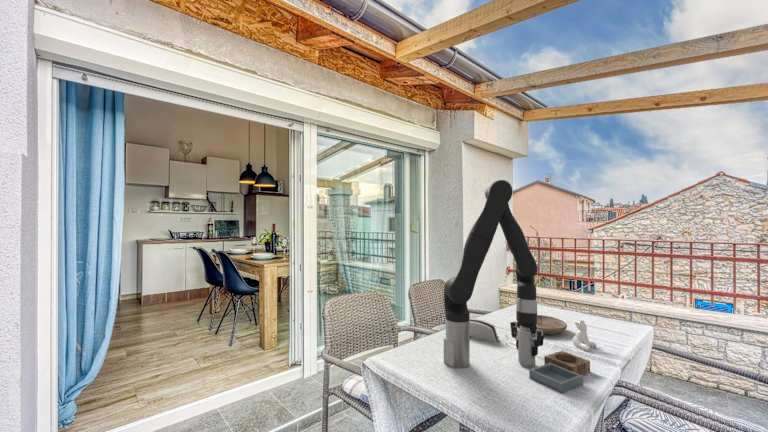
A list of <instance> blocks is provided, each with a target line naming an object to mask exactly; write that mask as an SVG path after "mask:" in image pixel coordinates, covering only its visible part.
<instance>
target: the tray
mask: <svg viewBox="0 0 768 432" xmlns="http://www.w3.org/2000/svg"><path fill="white" fill-rule="evenodd" d="M528 371H529V378H528V379H529V380H533V381H534V382H537V383H539V384H541V385H542V386H545V387H548V388H549V389H552V390H553V391H556V392H558V393H560V394H564V393H566V392H568V391H571V390H573V389H574V390H575V389H577V388H578V387H581V386H583V385H584V375H579V374H577V373H574V372H572V371H569V370H567V369H564V368H562V367H559V366H557V365H554V364H552V363H549V364H546V365H545V364H543V365H540V366H536V367H532V368H531V369H529V370H528Z"/></svg>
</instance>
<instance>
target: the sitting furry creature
mask: <svg viewBox="0 0 768 432" xmlns="http://www.w3.org/2000/svg"><path fill="white" fill-rule="evenodd" d="M574 325H575V327H576V328H577V330H576V331H575V335H574V336H573V337H572V340H571V341H572V343H573V345H574V346H575V347H576V348H578V349H580V350H583V351H584V352H588V353H591V351H592V349H597V343H596V342H595V341H593V340H589V337H588V336H589V335H588V333H587V330H588V327H587V324H586V322H585V320H583V319H580V320H577V321H575V322H574ZM592 347H593V348H592Z"/></svg>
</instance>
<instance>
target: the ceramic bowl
mask: <svg viewBox="0 0 768 432" xmlns="http://www.w3.org/2000/svg"><path fill="white" fill-rule="evenodd" d="M536 326H537V329H539V330H543V331H544V335H555V334H561V333H563V332H564V331H566V329H567V328H568V325H567V322H565V321H563V320H562V319H560V318H556V317H553V316H548V315H543V314H537V324H536Z"/></svg>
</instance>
